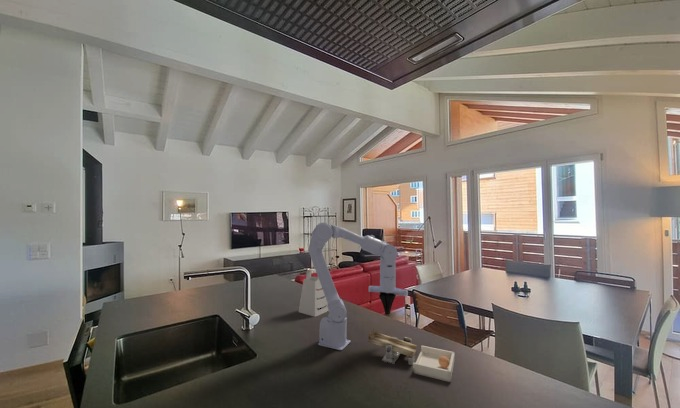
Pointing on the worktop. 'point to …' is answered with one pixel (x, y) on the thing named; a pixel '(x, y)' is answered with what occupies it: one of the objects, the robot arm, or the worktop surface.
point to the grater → (312, 296)
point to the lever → (393, 343)
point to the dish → (434, 363)
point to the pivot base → (394, 355)
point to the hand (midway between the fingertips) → (387, 313)
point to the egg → (444, 361)
